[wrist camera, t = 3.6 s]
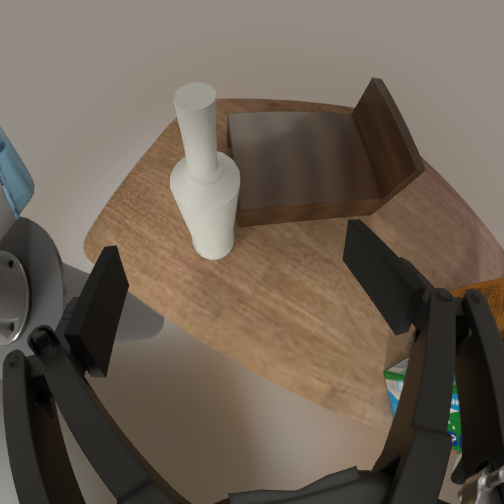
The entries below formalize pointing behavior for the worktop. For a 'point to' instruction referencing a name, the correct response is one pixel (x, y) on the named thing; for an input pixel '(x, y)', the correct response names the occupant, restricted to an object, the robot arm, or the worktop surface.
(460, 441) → the milk carton
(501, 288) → the coffee package
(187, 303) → the worktop surface
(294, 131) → the shelf
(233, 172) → the bottle
